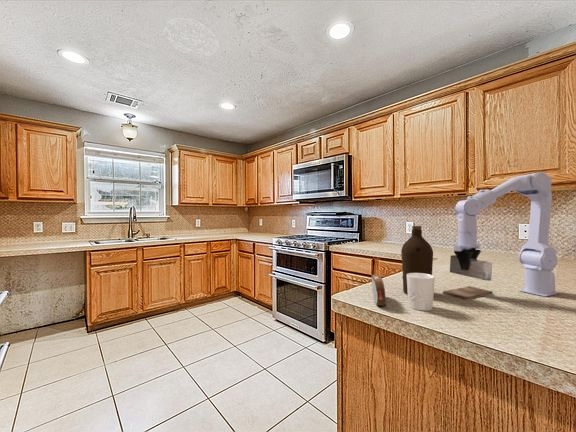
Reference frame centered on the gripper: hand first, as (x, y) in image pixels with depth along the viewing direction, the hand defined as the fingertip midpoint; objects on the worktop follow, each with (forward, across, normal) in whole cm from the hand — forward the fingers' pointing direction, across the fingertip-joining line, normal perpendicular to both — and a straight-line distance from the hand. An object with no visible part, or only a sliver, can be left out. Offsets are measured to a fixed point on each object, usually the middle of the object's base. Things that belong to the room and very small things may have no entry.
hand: (467, 269), depth 97 cm
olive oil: (+9, -15, +10) cm, 20 cm away
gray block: (+2, 0, 0) cm, 2 cm away
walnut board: (+9, 0, 0) cm, 9 cm away
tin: (+9, -35, +12) cm, 38 cm away
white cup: (+9, -28, +1) cm, 30 cm away
